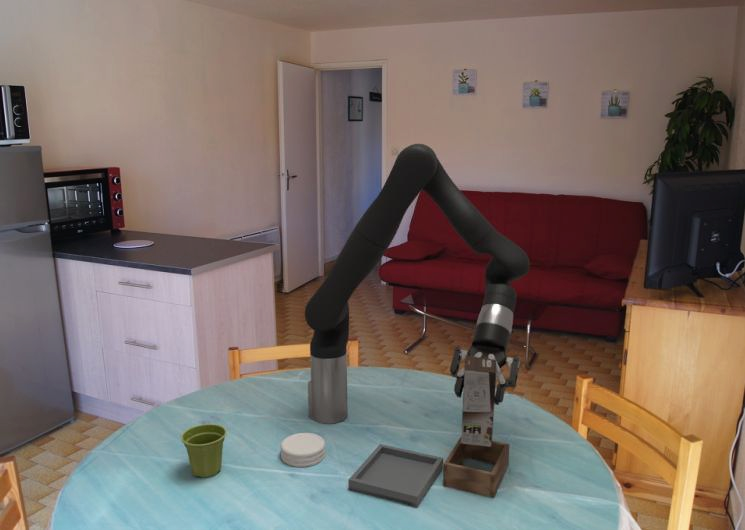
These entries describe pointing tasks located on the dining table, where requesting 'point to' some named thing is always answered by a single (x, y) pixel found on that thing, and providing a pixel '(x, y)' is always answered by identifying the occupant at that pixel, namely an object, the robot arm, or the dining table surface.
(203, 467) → the plant pot
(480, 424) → the coffee box
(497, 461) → the wooden frame
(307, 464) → the coaster
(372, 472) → the tray
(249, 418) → the dining table surface
